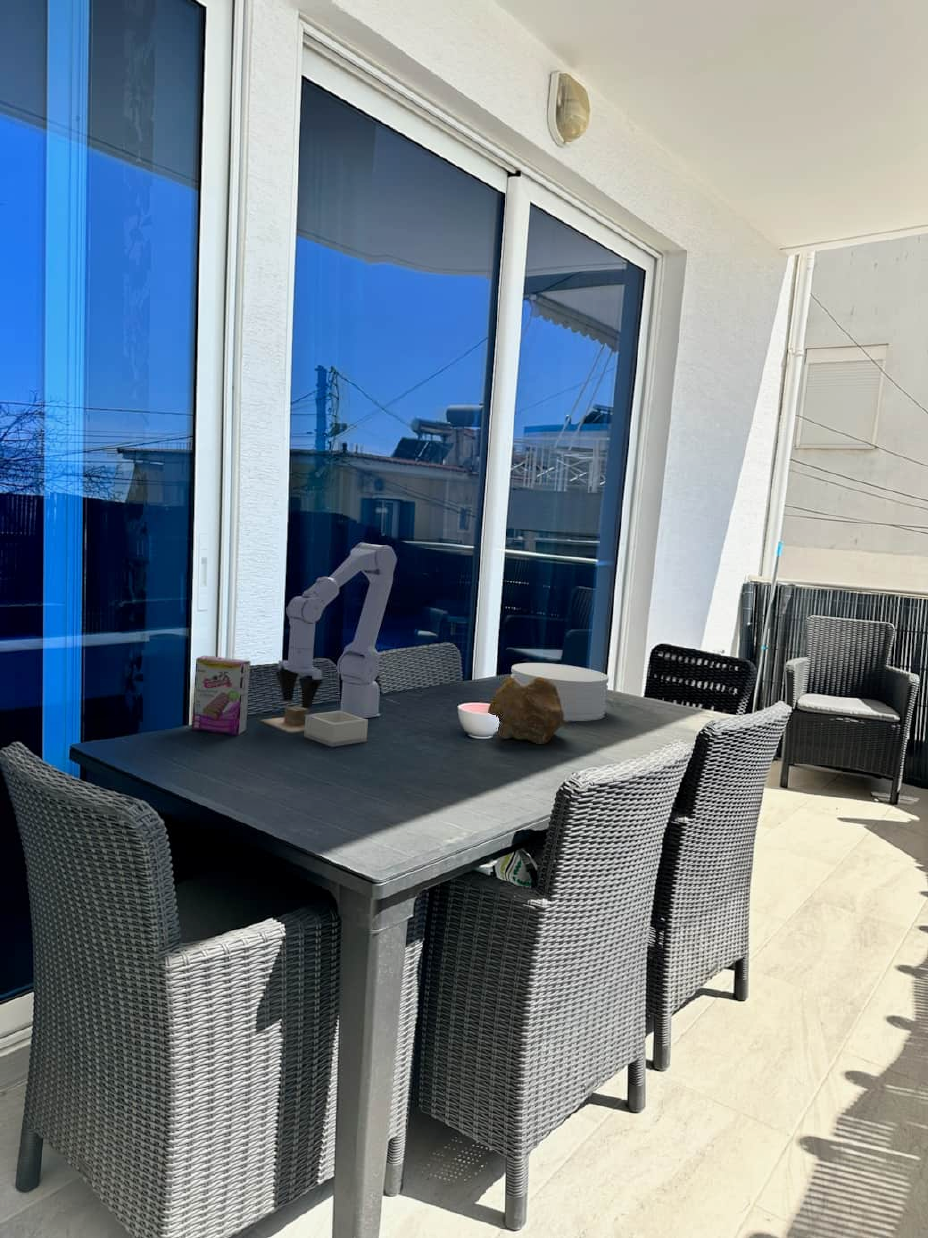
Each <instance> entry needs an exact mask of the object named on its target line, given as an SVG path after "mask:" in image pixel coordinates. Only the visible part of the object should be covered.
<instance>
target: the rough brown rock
mask: <svg viewBox="0 0 928 1238" xmlns="http://www.w3.org/2000/svg"><path fill="white" fill-rule="evenodd" d="M488 713H490V714H492V715H496V717H497V716H498V718H499V722H500V723H499V727H498V731H496V732H497V734H498V736H499V737H500V738H501V739H510V738H514V739H516V740H523V741H524V740H529V741H531V743H533V744H537V745H539V744H543V745H545V744H546V743H548V742H549V741H550V740H551V738H552V737H553V736H554V734H555V733H556V732H557V731H558V730H559V729H560V728H561V727H562V726H563V724H564V721H563V718H564V713H563V710H562V709H561V703H560V699H559V696H558V692H557V689H556V686H555V685H554V684H553V683H552V682H551V681H549V680H547V679H545V678H542V677H536V678H535V679H533V680H532V681H531V682H530V683H529V684H528V685H527V686H521V685H520V684H519V683H517V682H516V681H515V679H514V678H512V677H511V676H506V677H505V678H504V679H503V681H502V683H501V686H500V687H499V689H498V690H497V691H496V692H495V693H494V696H493V698H492V700H491V701H490V704H489V706H488V709H487V714H488Z"/></svg>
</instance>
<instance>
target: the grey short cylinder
mask: <svg viewBox="0 0 928 1238" xmlns="http://www.w3.org/2000/svg"><path fill="white" fill-rule="evenodd" d="M510 671H511V672H510V673H512V674H510V677H512V678H514V679H515V681H516V682H517V683H519V684H520V685H521V686H527V685H528V684H529V683H530V682H531V681H532V680H533V679H535V678H536V677H542V678H545V679H547V680H549V681H551V682H552V683H553V684H554V685H555V686H556V689H557V692H558V696H559V699H560V703H561V709H562V710H563V713H564V718H563V719H565V720H584V719H594V718H597V717H600V716H602V715H604V714H605V715H606V712H605V710H606V707H607V706H606V704H607V703H606V701H607V698H608V697H607V696H608V695H607V691H608V688H609V685H608V683H609V679H610V678H609V675H607V674H605V673H603V672H601V671H597V670H595V669H594V670H593V669H590V668H585V667H579V666H576V665H575V666H573V665H568V664H560V663H559V664H558V663H557V664H556V663H547V662H524V663H516V664H513V665H512V666H511V670H510Z"/></svg>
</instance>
